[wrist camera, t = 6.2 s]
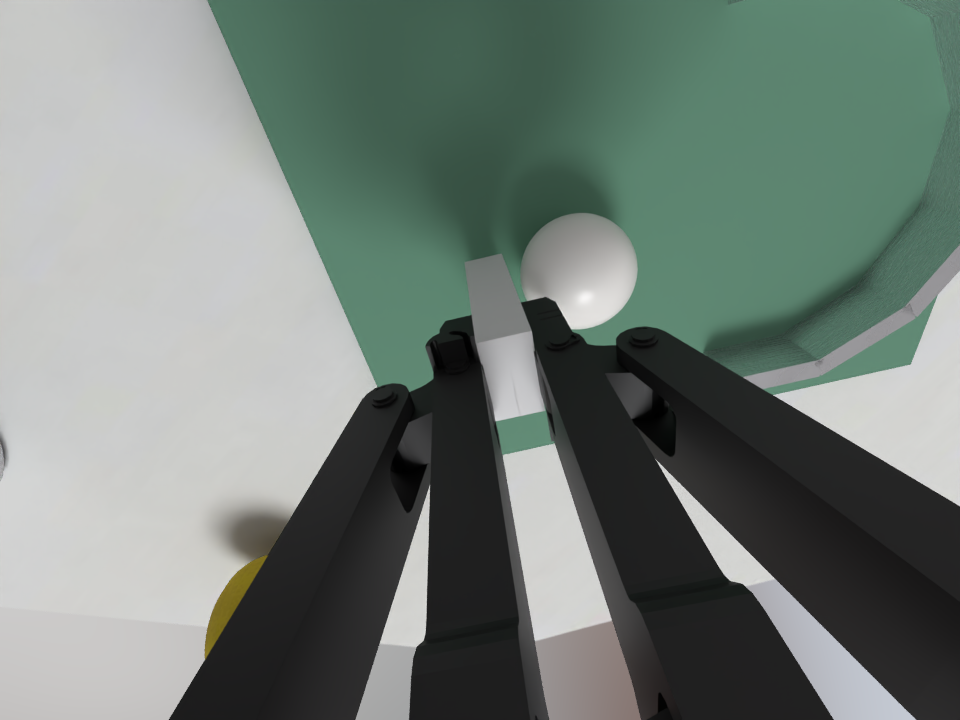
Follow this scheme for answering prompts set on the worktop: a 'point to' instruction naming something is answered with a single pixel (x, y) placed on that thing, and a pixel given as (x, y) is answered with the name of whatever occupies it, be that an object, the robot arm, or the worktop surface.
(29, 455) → the worktop surface
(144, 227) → the worktop surface
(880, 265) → the cup
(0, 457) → the ramekin
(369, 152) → the putting mat
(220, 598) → the lemon
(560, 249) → the golf ball
